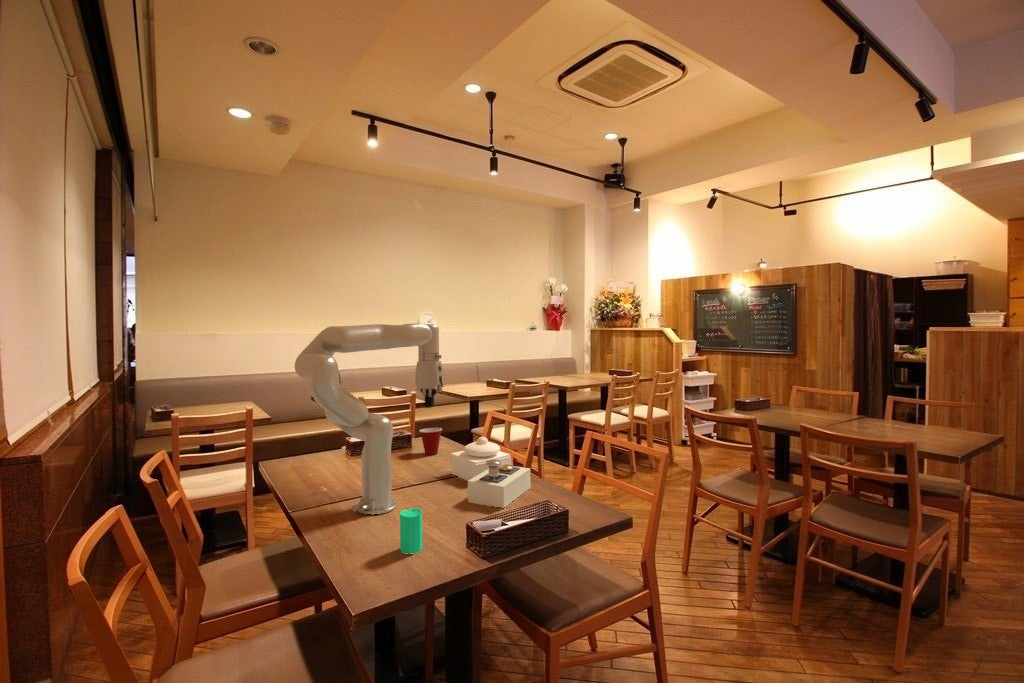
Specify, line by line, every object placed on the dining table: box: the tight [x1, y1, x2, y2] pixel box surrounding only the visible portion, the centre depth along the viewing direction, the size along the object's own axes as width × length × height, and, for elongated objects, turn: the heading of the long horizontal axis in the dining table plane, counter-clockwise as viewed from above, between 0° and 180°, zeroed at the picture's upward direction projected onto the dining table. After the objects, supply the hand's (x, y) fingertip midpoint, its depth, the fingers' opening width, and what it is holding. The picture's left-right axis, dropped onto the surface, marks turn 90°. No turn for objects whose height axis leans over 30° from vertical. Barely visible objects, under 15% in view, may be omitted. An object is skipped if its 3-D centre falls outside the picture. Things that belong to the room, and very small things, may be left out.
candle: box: [399, 506, 423, 554], centre depth 132 cm, size 6×6×12 cm
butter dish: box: [450, 436, 512, 482], centre depth 196 cm, size 18×18×16 cm
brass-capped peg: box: [500, 464, 514, 472], centre depth 177 cm, size 5×5×8 cm
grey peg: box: [486, 460, 501, 480], centre depth 168 cm, size 5×5×8 cm
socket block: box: [467, 464, 532, 509], centre depth 173 cm, size 22×14×8 cm, turn 154°
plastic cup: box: [419, 427, 443, 456], centre depth 228 cm, size 11×11×12 cm
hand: (429, 407), depth 177 cm, fingers closed
